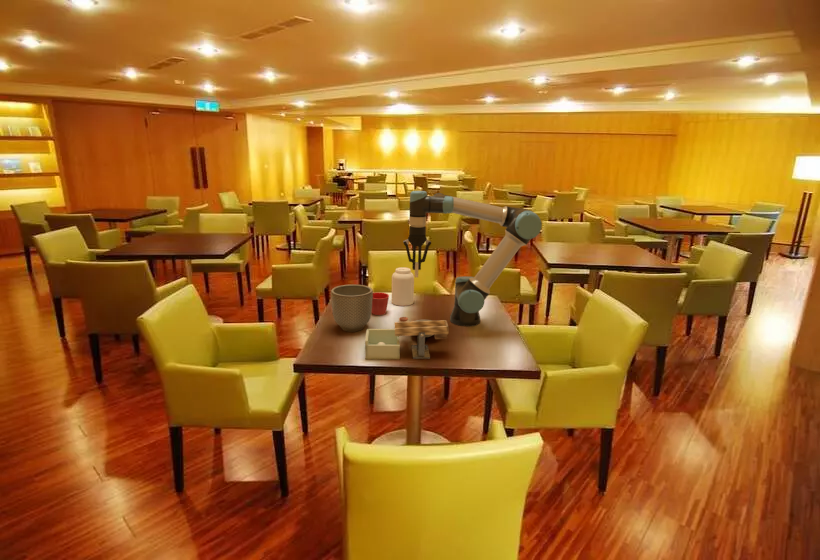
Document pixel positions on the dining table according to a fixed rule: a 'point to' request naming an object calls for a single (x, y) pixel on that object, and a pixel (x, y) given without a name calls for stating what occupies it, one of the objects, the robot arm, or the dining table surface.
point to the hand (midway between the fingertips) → (416, 276)
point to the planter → (352, 306)
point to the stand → (420, 348)
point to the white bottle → (402, 287)
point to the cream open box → (382, 351)
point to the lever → (421, 328)
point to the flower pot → (379, 303)
